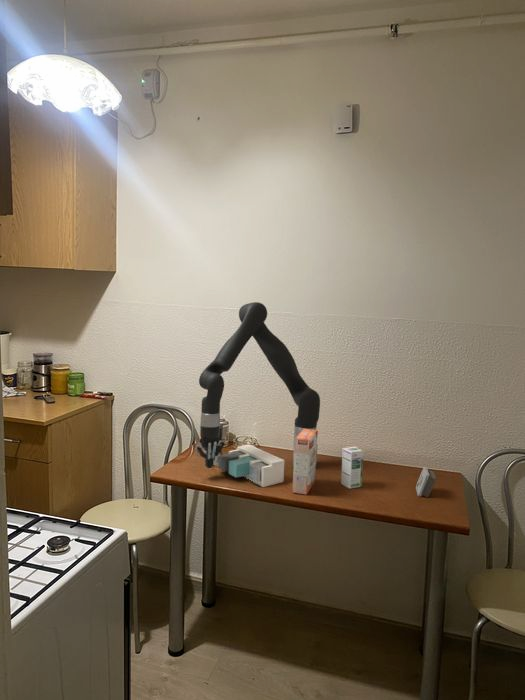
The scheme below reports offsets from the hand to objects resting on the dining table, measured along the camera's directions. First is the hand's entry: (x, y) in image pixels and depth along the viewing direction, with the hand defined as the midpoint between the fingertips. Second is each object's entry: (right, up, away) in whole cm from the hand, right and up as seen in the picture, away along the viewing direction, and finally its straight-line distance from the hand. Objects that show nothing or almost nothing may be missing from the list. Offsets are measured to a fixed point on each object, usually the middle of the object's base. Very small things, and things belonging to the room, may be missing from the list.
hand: (209, 467), depth 200 cm
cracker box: (+36, -6, -6) cm, 37 cm away
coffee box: (0, -2, +17) cm, 17 cm away
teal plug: (+13, -2, +1) cm, 13 cm away
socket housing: (+18, -4, +5) cm, 19 cm away
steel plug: (+21, -3, -3) cm, 21 cm away
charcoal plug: (+8, -2, +7) cm, 11 cm away
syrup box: (+55, -7, -2) cm, 55 cm away
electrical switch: (+81, -8, -7) cm, 82 cm away
